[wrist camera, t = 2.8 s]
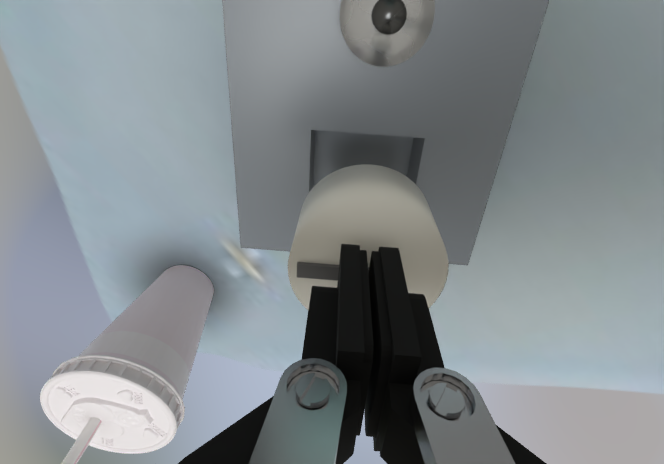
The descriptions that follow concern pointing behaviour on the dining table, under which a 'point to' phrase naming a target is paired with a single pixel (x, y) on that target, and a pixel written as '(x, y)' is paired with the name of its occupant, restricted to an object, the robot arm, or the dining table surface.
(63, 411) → the smoothie
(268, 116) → the mount
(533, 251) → the dining table surface
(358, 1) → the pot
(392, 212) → the knob
